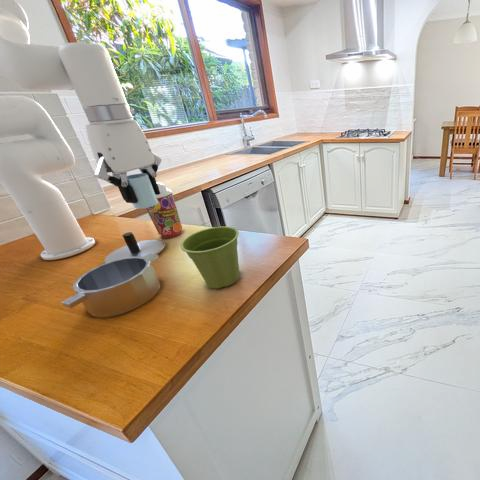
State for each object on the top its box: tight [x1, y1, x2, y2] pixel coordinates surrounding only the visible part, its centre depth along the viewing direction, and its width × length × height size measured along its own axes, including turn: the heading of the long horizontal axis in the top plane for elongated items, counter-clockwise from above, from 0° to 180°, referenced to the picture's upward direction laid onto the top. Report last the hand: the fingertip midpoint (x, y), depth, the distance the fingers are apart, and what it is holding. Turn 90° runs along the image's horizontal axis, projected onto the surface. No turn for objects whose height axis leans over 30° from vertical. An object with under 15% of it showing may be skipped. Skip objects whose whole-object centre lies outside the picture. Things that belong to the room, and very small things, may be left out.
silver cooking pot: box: [61, 253, 161, 318], centre depth 63 cm, size 13×19×6 cm
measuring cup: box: [127, 172, 158, 210], centre depth 68 cm, size 5×5×7 cm
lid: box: [104, 231, 166, 264], centre depth 81 cm, size 14×14×7 cm
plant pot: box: [179, 226, 240, 290], centre depth 65 cm, size 12×12×11 cm
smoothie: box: [145, 181, 183, 239], centre depth 89 cm, size 8×8×20 cm
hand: (143, 197), depth 68 cm, fingers closed on measuring cup, 5 cm apart
